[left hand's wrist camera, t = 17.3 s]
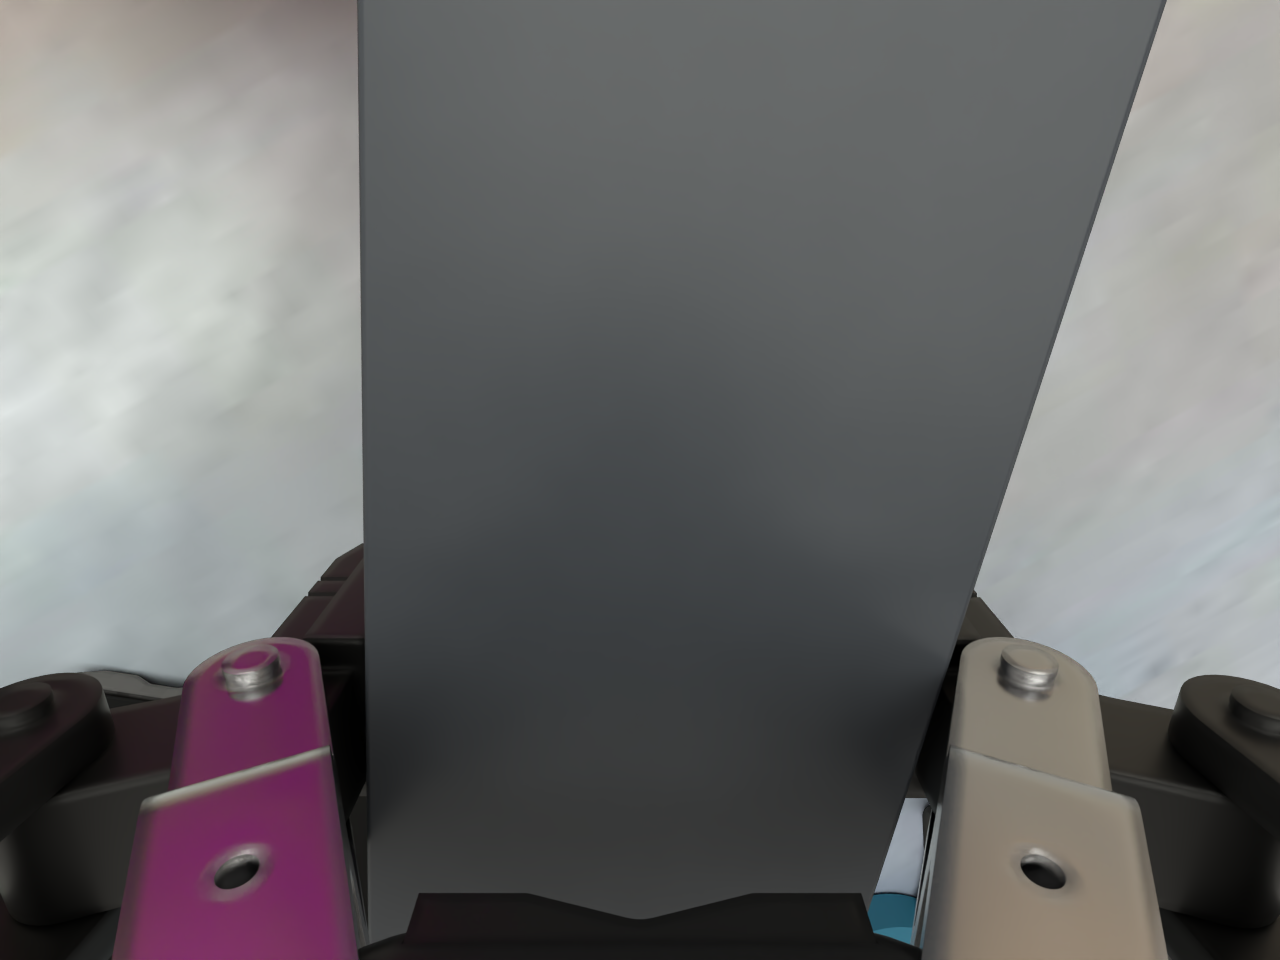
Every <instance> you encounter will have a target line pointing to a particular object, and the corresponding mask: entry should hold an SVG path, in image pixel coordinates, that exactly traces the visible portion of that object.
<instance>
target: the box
mask: <svg viewBox="0 0 1280 960" xmlns="http://www.w3.org/2000/svg"><path fill="white" fill-rule="evenodd" d="M1166 1H1167V0H357V19H358V104H359V190H360V275H361V360H362V446H363V531H364V616H365V702H366V787H367V872H368V934H369V941H370V944H372V943H375V942H378V941H380V940H383V939H386V938H389V937H392V936H395V935H399V934H403V933H406V932H407V929H408V926H409V922H410V919H411V916H412V913H413V910H414V907H415V903H416V900H417V897H418V894H419V893H530V894H534V895H538V896H542V897H546V898H550V899H554V900H558V901H562V902H566V903H570V904H574V905H578V906H582V907H586V908H590V909H594V910H598V911H602V912H606V913H610V914H614V915H618V916H622V917H626V918H632V919H648V918H654V917H658V916H662V915H666V914H670V913H674V912H678V911H682V910H686V909H690V908H694V907H698V906H702V905H706V904H710V903H714V902H718V901H722V900H726V899H730V898H734V897H738V896H742V895H746V894H750V893H861V894H862V897H863V900H864V903H865V907H866V910H867V913H868V910H869V907H870V904H871V901H872V898H873V895H874V892H875V889H876V886H877V883H878V880H879V876H880V873H881V870H882V867H883V864H884V861H885V858H886V855H887V852H888V849H889V846H890V843H891V840H892V837H893V834H894V831H895V828H896V825H897V822H898V818H899V815H900V812H901V809H902V806H903V803H904V800H905V797H906V794H907V791H908V788H909V785H910V782H911V779H912V776H913V773H914V770H915V767H916V764H917V761H918V757H919V754H920V751H921V748H922V745H923V742H924V739H925V736H926V733H927V730H928V727H929V724H930V721H931V718H932V715H933V712H934V709H935V706H936V703H937V699H938V696H939V693H940V690H941V687H942V684H943V681H944V678H945V675H946V672H947V669H948V666H949V663H950V660H951V657H952V654H953V651H954V648H955V645H956V642H957V638H958V635H959V632H960V629H961V626H962V623H963V620H964V617H965V614H966V611H967V608H968V605H969V602H970V599H971V596H972V593H973V590H974V587H975V584H976V581H977V577H978V574H979V571H980V568H981V565H982V562H983V559H984V556H985V553H986V550H987V547H988V544H989V541H990V538H991V535H992V532H993V529H994V526H995V523H996V519H997V516H998V513H999V510H1000V507H1001V504H1002V501H1003V498H1004V495H1005V492H1006V489H1007V486H1008V483H1009V480H1010V477H1011V474H1012V471H1013V468H1014V465H1015V462H1016V458H1017V455H1018V452H1019V449H1020V446H1021V443H1022V440H1023V437H1024V434H1025V431H1026V428H1027V425H1028V422H1029V419H1030V416H1031V413H1032V410H1033V407H1034V404H1035V400H1036V397H1037V394H1038V391H1039V388H1040V385H1041V382H1042V379H1043V376H1044V373H1045V370H1046V367H1047V364H1048V361H1049V358H1050V355H1051V352H1052V349H1053V346H1054V343H1055V339H1056V336H1057V333H1058V330H1059V327H1060V324H1061V321H1062V318H1063V315H1064V312H1065V309H1066V306H1067V303H1068V300H1069V297H1070V294H1071V291H1072V288H1073V285H1074V282H1075V278H1076V275H1077V272H1078V269H1079V266H1080V263H1081V260H1082V257H1083V254H1084V251H1085V248H1086V245H1087V242H1088V239H1089V236H1090V233H1091V230H1092V227H1093V224H1094V220H1095V217H1096V214H1097V211H1098V208H1099V205H1100V202H1101V199H1102V196H1103V193H1104V190H1105V187H1106V184H1107V181H1108V178H1109V175H1110V172H1111V169H1112V166H1113V163H1114V159H1115V156H1116V153H1117V150H1118V147H1119V144H1120V141H1121V138H1122V135H1123V132H1124V129H1125V126H1126V123H1127V120H1128V117H1129V114H1130V111H1131V108H1132V105H1133V101H1134V98H1135V95H1136V92H1137V89H1138V86H1139V83H1140V80H1141V77H1142V74H1143V71H1144V68H1145V65H1146V62H1147V59H1148V56H1149V53H1150V50H1151V47H1152V44H1153V40H1154V37H1155V34H1156V31H1157V28H1158V25H1159V22H1160V19H1161V16H1162V13H1163V10H1164V7H1165V4H1166Z"/></svg>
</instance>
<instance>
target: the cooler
mask: <svg viewBox="0 0 1280 960" xmlns="http://www.w3.org/2000/svg"><path fill="white" fill-rule="evenodd" d="M80 673H81V674H87V675H90V676H92V677H94V678H96V679H97V680H99V682H100V683H101V685H102V688H103V691H104V694H105V697H106V700H107V703H108V706H109V709H111V708H117V707H122V706H127V705H132V704H137V703H143V702H148V701H153V700H158V699H163V698H169V697H173V696H178V695H182V688H183V687H181V688H174V687H168V686H161V685H155V684H150V683H149V682H147V681H146V680H144V679H143V678H141V677H140V676H138V675H132V674H126V673H119V672H113V671H94V672H80ZM350 821H351V826H352V832H353V837H354V844H355V850H356V857H357V863H358V870H359V876H360V882H361V889H362V895H363V902H364V908H365V915H366V921H367V928H368V872H367V796H359V797H358V799H357V801H356V803H355V806H354V808H353V810H352V812H351V814H350ZM112 955H113V954H112ZM112 955H111V957H110V958H109V959H108V960H112Z"/></svg>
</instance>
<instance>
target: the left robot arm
mask: <svg viewBox="0 0 1280 960" xmlns="http://www.w3.org/2000/svg"><path fill="white" fill-rule="evenodd" d="M359 796H367V787H366V702H365V616H364V543H362V544H360V545H359V546H357V547H355V548H354V549H352V550H350V551H349V552H347V553H345V554H343V555H342V556H340V557H338V558H337V559H336V560H335V561H334V562H333V563H332V564H331V566H330V567H329V568H328V569H327V570H326V572H325V573H324V574H323V575H322V576H321V581H317V583H316V584H315V585H314V586H313V587H312V589H311V590H310V591H309V592H308V596H305V597H304V598H303V599H302V601H301V602H300V603H299V604H298V605H297V607H296V608H295V609H294V610H293V612H292V613H291V614H290V615H289V616H288V618H287V619H286V620H285V621H284V622H283V624H282V625H281V626H280V627H279V628H278V630H277V631H276V632H275V633H274V634H273V636H272V637H271V638H263V639H258V640H253V641H249V642H245V643H241V644H239V645H236V646H233V647H230V648H228V649H226V650H223V651H221V652H219V653H217V654H215V655H213V656H212V657H210V658H208V659H207V660H205V661H204V662H202V663H201V664H200V665H199V666H197V667H196V668H195V669H194V670H193V671H192V672H191V673H190V675H189V676H188V677H187V679H186V680H185V682H184V685H183V688H182V695H178V696H173V697H169V698H163V699H158V700H153V701H148V702H143V703H137V704H132V705H127V706H122V707H117V708H111V709H109V706H108V703H107V700H106V697H105V694H104V691H103V688H102V685H101V683H100V682H99V680H97V679H96V678H94V677H92V676H90V675H87V674H81V673H57V674H50V675H43V676H39V677H34V678H30V679H27V680H23V681H20V682H17V683H14V684H11V685H8V686H5V687H3V688H0V960H108V959H109V958H110V957H111V955H112V954H113V955H112V960H1280V689H1277V688H1275V687H1272V686H1269V685H1266V684H1263V683H1259V682H1256V681H1252V680H1248V679H1244V678H1239V677H1233V676H1225V675H1203V676H1196V677H1194V678H1191V679H1189V680H1187V681H1186V682H1184V684H1183V685H1182V687H1181V689H1180V692H1179V696H1178V699H1177V702H1176V705H1175V708H1174V710H1172V709H1167V708H1162V707H1156V706H1151V705H1146V704H1141V703H1136V702H1130V701H1125V700H1120V699H1115V698H1111V697H1106V696H1102V695H1099V694H1098V688H1097V685H1096V682H1095V680H1094V679H1093V677H1092V676H1091V674H1090V673H1089V672H1088V671H1087V670H1086V669H1085V668H1084V667H1083V666H1081V665H1080V664H1079V663H1078V662H1076V661H1075V660H1073V659H1072V658H1070V657H1068V656H1067V655H1065V654H1063V653H1061V652H1059V651H1057V650H1054V649H1052V648H1050V647H1047V646H1044V645H1041V644H1039V643H1035V642H1031V641H1027V640H1022V639H1017V638H1014V637H1013V636H1012V635H1011V634H1010V633H1009V631H1008V630H1007V629H1006V628H1005V627H1004V625H1003V624H1002V623H1001V622H1000V621H999V619H998V618H997V617H996V616H995V615H994V613H993V612H992V611H991V610H990V609H989V607H988V606H987V605H986V604H985V603H984V601H983V600H982V599H981V598H980V597H977V593H976V592H975V591H974V590H973V593H972V596H971V599H970V602H969V605H968V608H967V611H966V614H965V617H964V620H963V623H962V626H961V629H960V632H959V635H958V638H957V642H956V645H955V648H954V651H953V654H952V657H951V660H950V663H949V666H948V669H947V672H946V675H945V678H944V681H943V684H942V687H941V690H940V693H939V696H938V699H937V703H936V706H935V709H934V712H933V715H932V718H931V721H930V724H929V727H928V730H927V733H926V736H925V739H924V742H923V745H922V748H921V751H920V754H919V757H918V761H917V764H916V767H915V770H914V773H913V776H912V779H911V782H910V785H909V788H908V791H907V794H906V797H905V798H927V799H928V802H929V804H930V806H928V807H927V808H926V809H925V810H924V812H923V836H924V857H923V863H922V870H921V876H920V883H919V889H918V896H917V902H916V908H915V915H914V921H913V928H912V934H911V941H910V944H908V943H905V942H902V941H900V940H897V939H894V938H891V937H888V936H885V935H881V934H877V933H874V932H873V929H872V926H871V922H870V919H869V916H868V913H867V910H866V907H865V903H864V900H863V897H862V894H861V893H750V894H746V895H742V896H738V897H734V898H730V899H726V900H722V901H718V902H714V903H710V904H706V905H702V906H698V907H694V908H690V909H686V910H682V911H678V912H674V913H670V914H666V915H662V916H658V917H654V918H648V919H632V918H626V917H622V916H618V915H614V914H610V913H606V912H602V911H598V910H594V909H590V908H586V907H582V906H578V905H574V904H570V903H566V902H562V901H558V900H554V899H550V898H546V897H542V896H538V895H534V894H530V893H419V894H418V897H417V900H416V903H415V907H414V910H413V913H412V916H411V919H410V922H409V926H408V929H407V932H406V933H403V934H399V935H395V936H392V937H389V938H386V939H383V940H380V941H378V942H375V943H372V944H370V941H369V934H368V928H367V921H366V915H365V908H364V902H363V895H362V889H361V882H360V876H359V870H358V863H357V857H356V850H355V844H354V837H353V832H352V826H351V821H350V814H351V812H352V810H353V808H354V806H355V803H356V801H357V799H358V797H359Z"/></svg>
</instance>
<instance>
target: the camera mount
mask: <svg viewBox="0 0 1280 960" xmlns="http://www.w3.org/2000/svg"><path fill="white" fill-rule="evenodd" d="M916 902H917V898H914V897H910V896H906V895H900V894H879V895H873V898H872V901H871V904H870V907H869V910H868V916H869V919H870V922H871V926H872V929H873V932H874V933H877V934H881V935H885V936H888V937H891V938H894V939H897V940H900V941H902V942H905V943H908V944H910V941H911V934H912V928H913V921H914V915H915V908H916Z"/></svg>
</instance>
